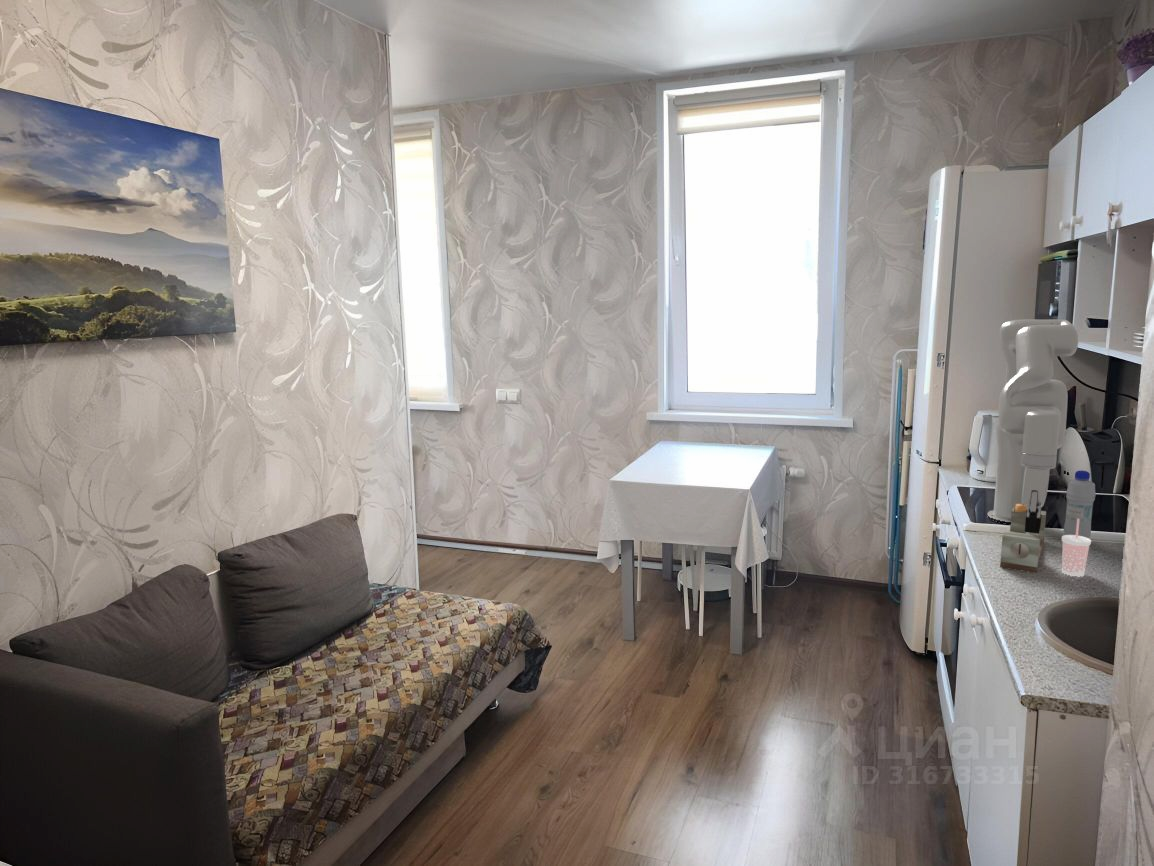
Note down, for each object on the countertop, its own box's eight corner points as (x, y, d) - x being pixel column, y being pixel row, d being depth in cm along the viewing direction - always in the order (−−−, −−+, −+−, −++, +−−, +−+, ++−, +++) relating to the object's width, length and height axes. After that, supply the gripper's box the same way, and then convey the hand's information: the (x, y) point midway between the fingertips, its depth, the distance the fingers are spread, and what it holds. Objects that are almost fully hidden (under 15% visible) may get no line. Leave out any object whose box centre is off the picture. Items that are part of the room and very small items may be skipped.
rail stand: (1010, 536, 218) (1013, 507, 217) (1043, 541, 214) (1046, 511, 213) (999, 567, 195) (1002, 535, 194) (1036, 573, 191) (1039, 540, 189)
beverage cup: (1071, 567, 194) (1076, 514, 192) (1093, 576, 188) (1099, 521, 186) (1052, 571, 192) (1057, 516, 190) (1074, 579, 187) (1080, 523, 184)
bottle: (1056, 540, 215) (1063, 469, 211) (1071, 535, 218) (1077, 466, 214) (1081, 546, 209) (1088, 474, 205) (1096, 542, 212) (1103, 471, 208)
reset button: (1015, 517, 216) (1016, 503, 216) (1025, 518, 215) (1026, 504, 214) (1014, 519, 214) (1015, 505, 214) (1024, 520, 213) (1026, 506, 212)
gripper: (1024, 452, 202) (1018, 520, 206) (1018, 465, 189) (1012, 537, 192) (1057, 455, 198) (1051, 524, 202) (1054, 468, 185) (1047, 542, 188)
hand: (1032, 529), depth 197 cm, fingers closed on carriage, 2 cm apart
